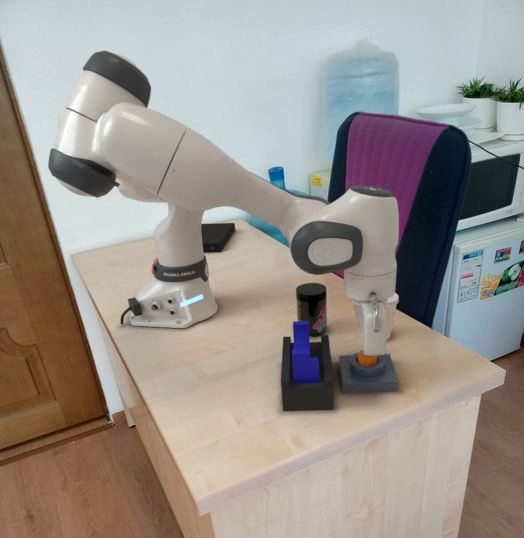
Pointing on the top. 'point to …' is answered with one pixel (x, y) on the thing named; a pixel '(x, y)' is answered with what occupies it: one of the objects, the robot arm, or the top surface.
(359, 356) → the button
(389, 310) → the smoothie
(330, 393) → the inspection stand
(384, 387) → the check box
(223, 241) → the external hard drive
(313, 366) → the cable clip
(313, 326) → the supplement container
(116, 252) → the top surface
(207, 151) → the robot arm
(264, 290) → the top surface
